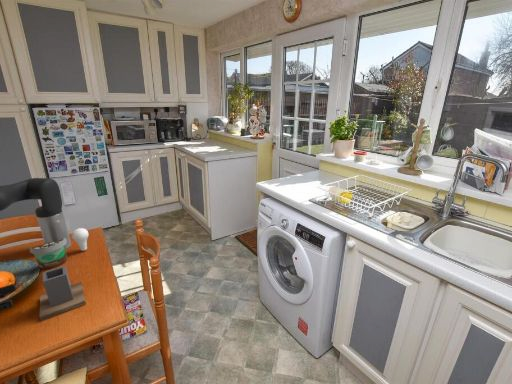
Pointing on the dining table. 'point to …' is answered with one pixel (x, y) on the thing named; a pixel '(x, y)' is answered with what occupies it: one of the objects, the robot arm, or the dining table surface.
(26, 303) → the dining table surface
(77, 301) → the post stand
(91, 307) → the dining table surface
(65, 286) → the sleeve
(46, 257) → the food container
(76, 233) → the lightbulb
